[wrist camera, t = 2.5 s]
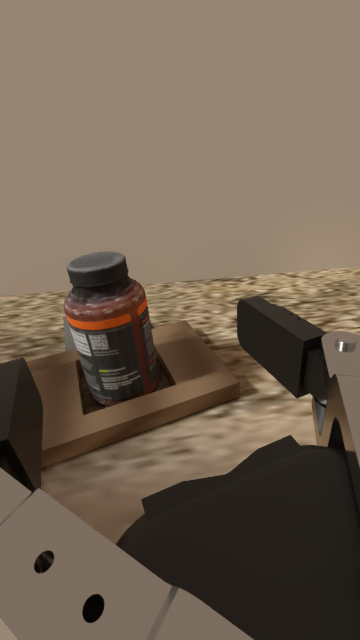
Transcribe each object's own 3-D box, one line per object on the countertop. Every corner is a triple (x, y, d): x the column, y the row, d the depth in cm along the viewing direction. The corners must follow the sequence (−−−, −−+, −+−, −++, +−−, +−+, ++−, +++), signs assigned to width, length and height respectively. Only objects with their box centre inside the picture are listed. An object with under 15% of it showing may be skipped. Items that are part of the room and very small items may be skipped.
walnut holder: (21, 475, 19) (12, 460, 18) (30, 375, 28) (24, 362, 27) (239, 396, 24) (239, 382, 23) (186, 332, 33) (185, 320, 32)
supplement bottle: (145, 356, 29) (126, 242, 24) (170, 393, 25) (154, 260, 19) (84, 378, 27) (47, 257, 22) (99, 422, 22) (56, 282, 17)
